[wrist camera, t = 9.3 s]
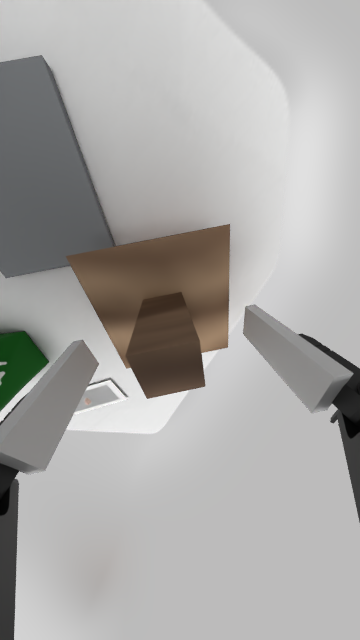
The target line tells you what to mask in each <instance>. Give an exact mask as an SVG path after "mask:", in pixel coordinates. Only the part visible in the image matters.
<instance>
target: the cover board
mask: <svg viewBox="0 0 360 640" xmlns="http://www.w3.org/2000/svg"><path fill="white" fill-rule="evenodd" d="M229 250H230V224H228V225H223V226H218V227H213V228H207V229H202V230H197V231H192V232H187V233H182V234H177V235H172V236H166V237H161V238H156V239H151V240H146V241H141V242H136V243H130V244H125V245H120V246H115V247H110V248H105V249H100V250H95V251H89V252H84V253H79V254H74V255H69V256H66V258H67V260H68V262H69V263H70V265H71V267H72V269H73V271H74V273H75V275H76V276H77V278H78V280H79V282H80V284H81V286H82V287H83V289H84V291H85V293H86V295H87V297H88V298H89V300H90V302H91V304H92V306H93V308H94V310H95V311H96V313H97V315H98V317H99V319H100V321H101V322H102V324H103V326H104V328H105V330H106V332H107V333H108V335H109V337H110V339H111V341H112V343H113V345H114V346H115V348H116V350H117V352H118V354H119V356H120V357H121V359H122V361H123V363H124V365H125V367H126V368H131V369H132V371H133V372H134V374H135V376H136V378H137V380H138V382H139V384H140V386H141V388H142V390H143V392H144V394H145V396H146V398H147V399H148V398H153V397H158V396H162V395H167V394H172V393H177V392H181V391H186V390H191V389H196V388H200V387H204V386H205V379H204V371H203V362H202V354H201V353H203V352H208V351H213V350H218V349H222V348H227V347H228V314H229Z"/></svg>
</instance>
